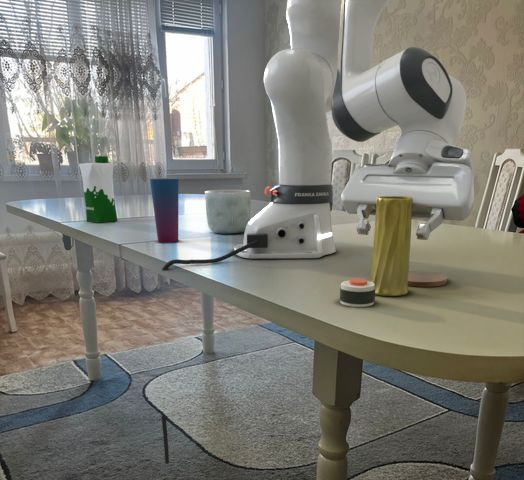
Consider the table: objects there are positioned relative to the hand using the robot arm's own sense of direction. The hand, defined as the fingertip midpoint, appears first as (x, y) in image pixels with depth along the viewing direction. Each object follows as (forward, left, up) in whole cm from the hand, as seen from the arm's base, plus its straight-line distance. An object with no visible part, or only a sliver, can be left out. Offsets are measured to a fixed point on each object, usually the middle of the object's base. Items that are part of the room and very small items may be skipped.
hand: (390, 234), depth 82 cm
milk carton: (-52, +109, -9) cm, 122 cm away
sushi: (-7, -6, -9) cm, 13 cm away
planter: (-15, +73, -9) cm, 75 cm away
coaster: (+8, +6, -9) cm, 13 cm away
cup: (-32, +60, -9) cm, 69 cm away
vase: (0, -1, -9) cm, 9 cm away
